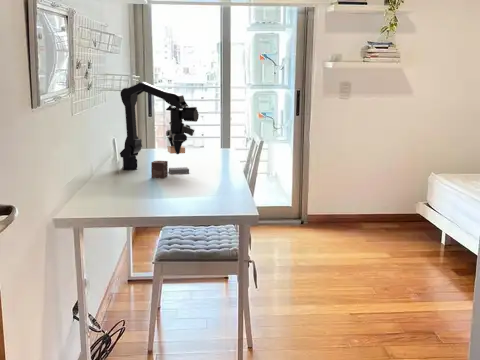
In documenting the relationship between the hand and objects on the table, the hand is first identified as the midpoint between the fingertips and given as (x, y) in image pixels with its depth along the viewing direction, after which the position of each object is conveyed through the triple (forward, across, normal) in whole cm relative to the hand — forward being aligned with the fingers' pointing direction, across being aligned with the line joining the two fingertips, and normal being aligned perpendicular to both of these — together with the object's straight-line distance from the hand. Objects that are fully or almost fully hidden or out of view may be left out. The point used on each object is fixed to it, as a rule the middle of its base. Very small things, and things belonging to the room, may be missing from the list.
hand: (176, 153), depth 259 cm
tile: (0, 0, 0) cm, 0 cm away
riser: (+10, +1, -2) cm, 10 cm away
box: (+10, -8, +9) cm, 16 cm away
